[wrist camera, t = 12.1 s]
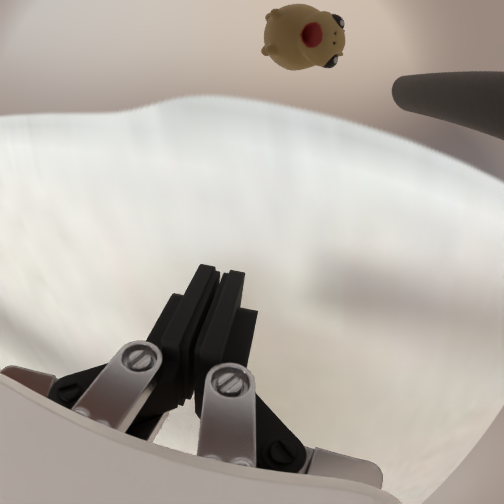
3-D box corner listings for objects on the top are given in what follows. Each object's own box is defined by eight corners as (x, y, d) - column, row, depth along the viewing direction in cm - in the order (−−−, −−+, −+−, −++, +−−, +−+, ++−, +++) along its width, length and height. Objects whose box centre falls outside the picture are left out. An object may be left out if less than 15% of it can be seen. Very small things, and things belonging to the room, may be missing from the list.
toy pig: (291, -10, 23) (370, 12, 26) (252, 3, 32) (319, 15, 35) (283, 71, 28) (361, 83, 32) (246, 65, 37) (312, 72, 41)
